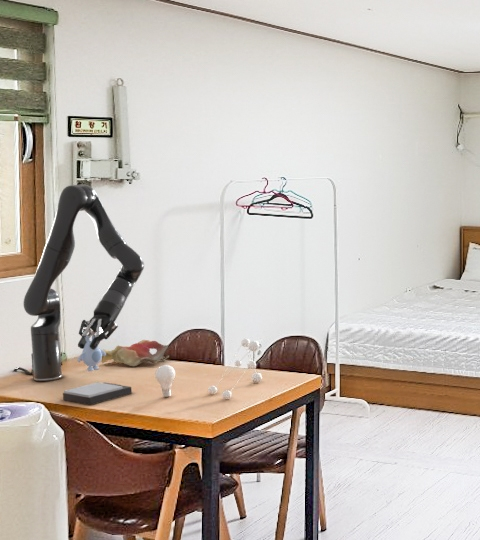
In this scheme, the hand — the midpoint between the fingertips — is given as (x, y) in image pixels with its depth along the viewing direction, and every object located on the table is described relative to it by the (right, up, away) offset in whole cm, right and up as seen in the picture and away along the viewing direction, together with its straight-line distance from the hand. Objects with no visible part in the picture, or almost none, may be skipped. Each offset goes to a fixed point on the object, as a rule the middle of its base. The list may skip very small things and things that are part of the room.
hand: (86, 347), depth 289 cm
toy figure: (+1, -8, +3) cm, 9 cm away
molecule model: (+48, -16, +11) cm, 52 cm away
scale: (+2, -17, +5) cm, 18 cm away
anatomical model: (-5, -11, +58) cm, 59 cm away
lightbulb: (+26, -17, +3) cm, 31 cm away
